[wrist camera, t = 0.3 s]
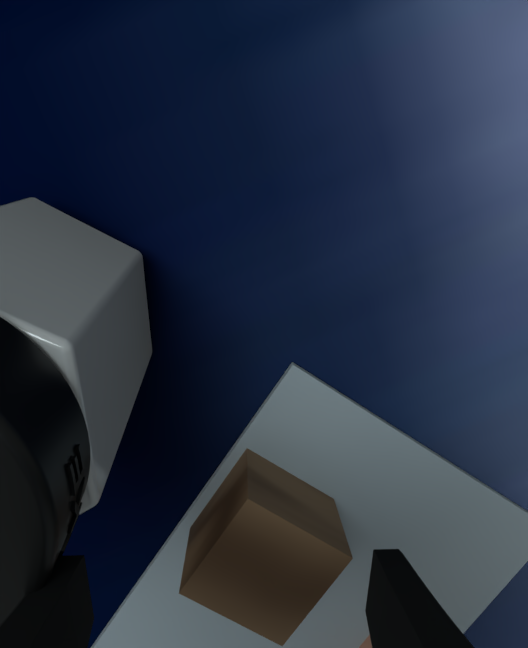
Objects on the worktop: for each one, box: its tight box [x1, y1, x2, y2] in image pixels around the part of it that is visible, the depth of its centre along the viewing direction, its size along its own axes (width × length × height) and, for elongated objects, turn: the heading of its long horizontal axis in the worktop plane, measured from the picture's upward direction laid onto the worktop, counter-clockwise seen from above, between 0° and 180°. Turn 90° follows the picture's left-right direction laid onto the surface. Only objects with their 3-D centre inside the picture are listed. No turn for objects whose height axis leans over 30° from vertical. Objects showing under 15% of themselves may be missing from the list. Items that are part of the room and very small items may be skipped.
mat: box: [91, 362, 528, 648], centre depth 24 cm, size 20×16×1 cm
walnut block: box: [179, 448, 353, 646], centre depth 20 cm, size 5×5×4 cm
